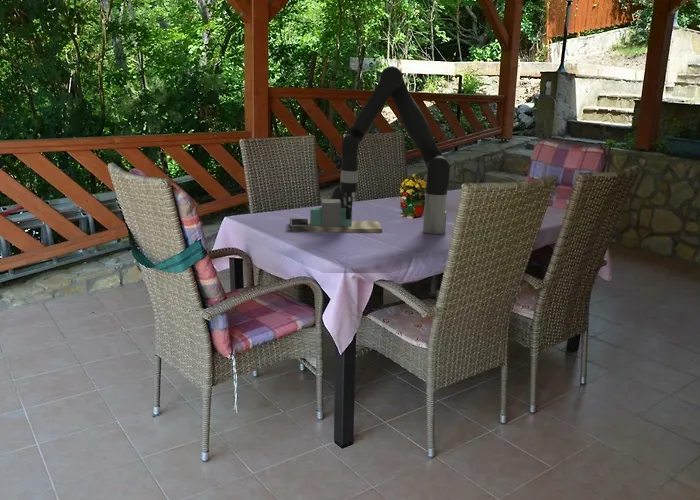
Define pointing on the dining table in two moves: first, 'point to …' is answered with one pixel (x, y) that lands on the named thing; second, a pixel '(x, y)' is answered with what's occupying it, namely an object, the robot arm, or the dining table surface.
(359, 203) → the dining table surface
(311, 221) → the teal pillar
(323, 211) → the tunnel
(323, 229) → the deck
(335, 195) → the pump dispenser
